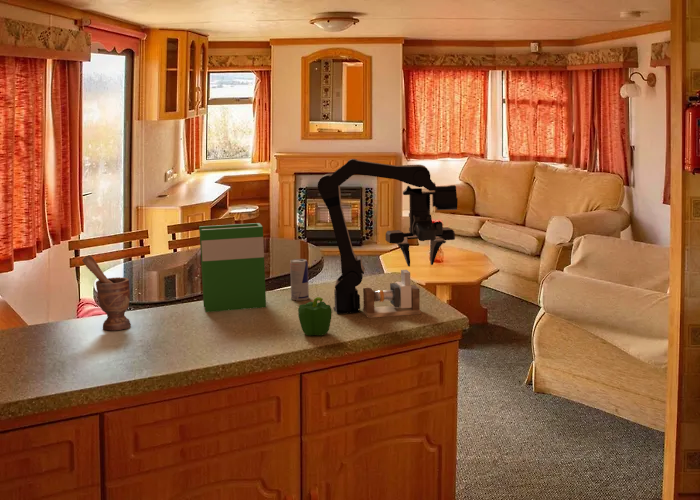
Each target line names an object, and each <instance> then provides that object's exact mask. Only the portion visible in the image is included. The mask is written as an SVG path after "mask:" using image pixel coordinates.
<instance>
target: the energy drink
mask: <svg viewBox="0 0 700 500" xmlns="http://www.w3.org/2000/svg"><path fill="white" fill-rule="evenodd" d="M289 268H290V297H291V300H292V301H295V300H296V301H298V302H301V301H302V302H303V301H307V300H308V299H309V298H310V297H309V296H310V293H309V291H310V287H309V263H308V260H307V258H306V259H305V258H294V259H290V262H289Z"/></svg>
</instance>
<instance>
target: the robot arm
mask: <svg viewBox="0 0 700 500" xmlns="http://www.w3.org/2000/svg"><path fill="white" fill-rule="evenodd" d="M354 175H362V176H370V177H375V178H384V179H389V180H390V179H392V180H396V181H400V182H402V183H405V184H407V187H406V188H405V189H404V190H403V191H402V195H403V196H408V197H409V200H408V201H409V213H408V218H409V227H408V232H403V231H401V230H400V229H395V230H387V231H386V232H385V235H384V236H385V241H386V242H388V243H389V244H396V245H397V246H399V248H400V250H401V252H402V255H403V256H404V259H405V263H406V265H407V267H411V257H410V243H409V242H408V240H418V241H419V242H425V241H429V242H430V243H429V247H430V248H429V249H430V250H429V261H430V262H429V263H430V266H434V262H435V260H436V257H437V255H438V251H439V249H440V248H441V246H442V245H443V244H446V243H447V241H454V240H455V239H456V232H455V230H454V229H452V228H450V227H445V226H444V227H443V225H444V224H443V222H442V221H434V222H433V220H432V217H433V216H432V214H431V206H432V207H433V208H434V207H435V209H436V211H457V210H458V197H457V196H458V195H457V186H456V185H455V184H454V185H453V184H451V185H440V186H439V185H437V184H436V182H433V181H432V179H431V173H430V170H429V169H428V168H427V167H426V166H425V165H423V164H405V165H403V164H402V165H394V164H387V163H380V162H372V161H365V160H361V159H356V158H350V159H348V161H347V162H346V163H345V164H343V165H342V166H341V167H339V168H338V169H337V170H335V171H334V172H332V173H326V174H324V175H322V177H320V178H319V180H318V182H317V189H318V192H319V194H320V196H321V198H322V201H323V202H324V204H325V206H326V207H327V210H328V214H329V218H330V220H331V224H332V225H331V226H332V229H333V233H334V237H335V240H336V243H337V247H338V251H339V254H340V268H341V269H340V270H341V271H340V272H341V275H340V276H339V277H338V278H337V279H336V281H335V285H334V292H333V293H334V307H333V310H334V312H335V313H336V315H344V314H355V313H356V314H358V313H360V309H361V296H360V294H359V290H358V289H357V288H356V287H358V286H360V285H361V283H362V282H363V277H364V274H365V271H366V269H365V266H364V265H363V261H362V255H359V256H357V255H356V253H355V252H354V249H353V245H352V240H351V237H350V234H349V233H350V232H349V229H348V227H347V226H348V225H347V222H346V218H345V215H344V211H343V207H342V199H341V198H342V196H341V185H342V184H344V183H345V182H346V181H348V179H350V178H351V177H352V176H354ZM436 185H437V186H436ZM411 186H413V187H416V188H412V187H411ZM422 188H424V189H426V190H427V191H426V190H425V191H423V189H422ZM431 199H432V200H431ZM431 202H432V205H431Z"/></svg>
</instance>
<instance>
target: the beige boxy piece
mask: <svg viewBox="0 0 700 500" xmlns="http://www.w3.org/2000/svg"><path fill="white" fill-rule="evenodd" d="M394 283H395V284H396V285H397V286H398V287H399V289H400V300H399V307H400V308H412V302H411V285H412V284H411V271H409V270H408V269H400V281H395V282H394Z"/></svg>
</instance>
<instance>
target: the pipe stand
mask: <svg viewBox="0 0 700 500" xmlns="http://www.w3.org/2000/svg"><path fill="white" fill-rule="evenodd" d="M410 285H411V302H412V308H400V307H394V306H393V305H386V306H385V305H383V306H375V303H377V302H379V303H383V302H390V301H394V290H390V289H387V290H381V289H380V290H373V289H372V288H371V287H363V290H362V292H363V293H362V294H363V307H362V311H363V313H364V314H365V316H366V317H367V318H380V317H382V318H383V317H394V316H395V317H397V316H408V315H411V316H412V315H420V314H421V307H420V304H421V303H420V302H421V301H420V288H419V287H418V286H417V285H415V284H410ZM399 300H400V289H399Z"/></svg>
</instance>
